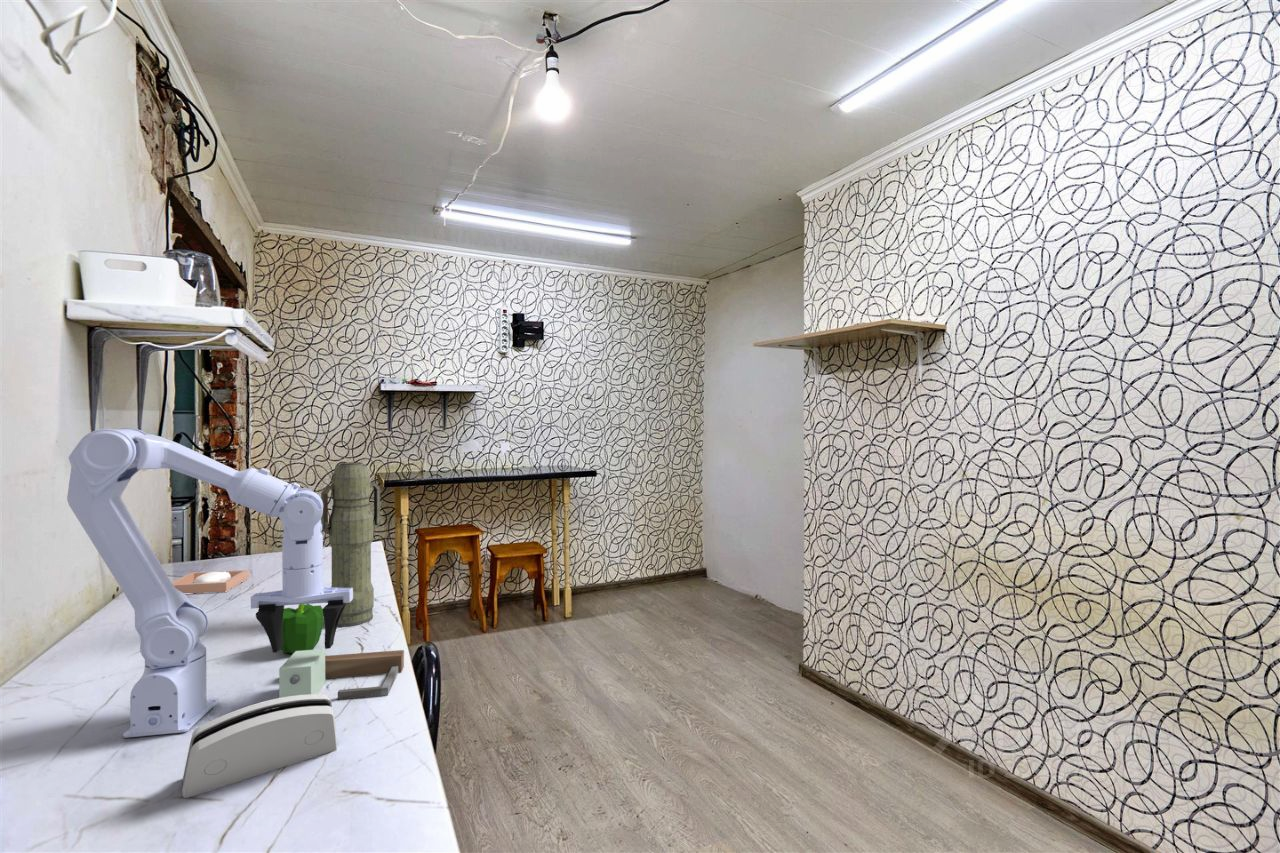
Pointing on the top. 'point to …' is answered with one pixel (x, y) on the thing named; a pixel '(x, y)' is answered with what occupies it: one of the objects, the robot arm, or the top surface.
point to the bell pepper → (301, 628)
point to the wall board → (365, 670)
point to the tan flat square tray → (187, 586)
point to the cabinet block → (302, 673)
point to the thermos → (352, 537)
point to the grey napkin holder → (258, 741)
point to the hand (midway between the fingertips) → (303, 648)
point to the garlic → (213, 577)
